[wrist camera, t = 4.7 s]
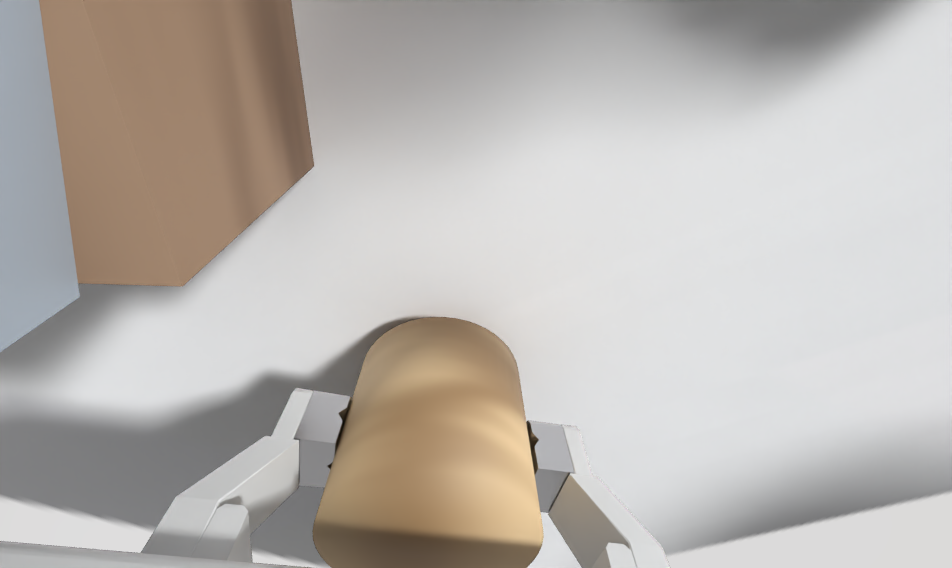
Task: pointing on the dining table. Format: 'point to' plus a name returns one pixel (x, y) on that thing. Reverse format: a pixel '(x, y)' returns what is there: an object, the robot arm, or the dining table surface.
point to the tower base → (172, 128)
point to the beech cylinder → (433, 457)
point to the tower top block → (30, 182)
